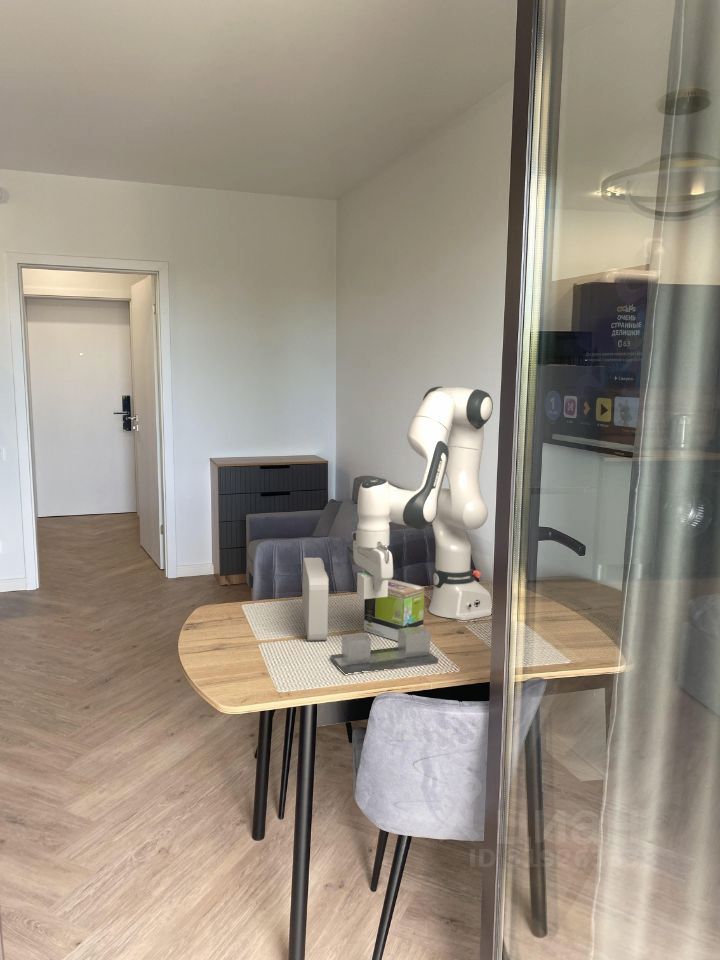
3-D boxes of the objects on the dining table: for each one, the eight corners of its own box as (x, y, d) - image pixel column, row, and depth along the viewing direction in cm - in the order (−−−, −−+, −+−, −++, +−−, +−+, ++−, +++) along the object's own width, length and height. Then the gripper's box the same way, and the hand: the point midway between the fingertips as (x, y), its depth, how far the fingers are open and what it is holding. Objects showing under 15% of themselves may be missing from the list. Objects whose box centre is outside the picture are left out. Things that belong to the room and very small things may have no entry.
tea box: (424, 635, 213) (426, 586, 211) (402, 644, 206) (404, 593, 204) (384, 623, 223) (385, 576, 221) (362, 631, 216) (363, 582, 214)
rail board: (419, 648, 203) (420, 622, 202) (438, 663, 192) (439, 635, 191) (330, 659, 193) (330, 632, 192) (344, 675, 183) (345, 646, 182)
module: (380, 591, 206) (380, 570, 205) (387, 596, 201) (387, 574, 200) (357, 594, 203) (357, 572, 203) (363, 599, 199) (364, 576, 198)
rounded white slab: (335, 642, 206) (336, 580, 203) (308, 643, 205) (309, 580, 202) (326, 610, 234) (327, 555, 231) (302, 611, 233) (302, 555, 230)
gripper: (399, 546, 192) (398, 597, 194) (370, 530, 211) (369, 577, 213) (377, 547, 189) (376, 599, 191) (349, 531, 208) (348, 579, 210)
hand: (372, 587), depth 202 cm, fingers closed on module, 5 cm apart
